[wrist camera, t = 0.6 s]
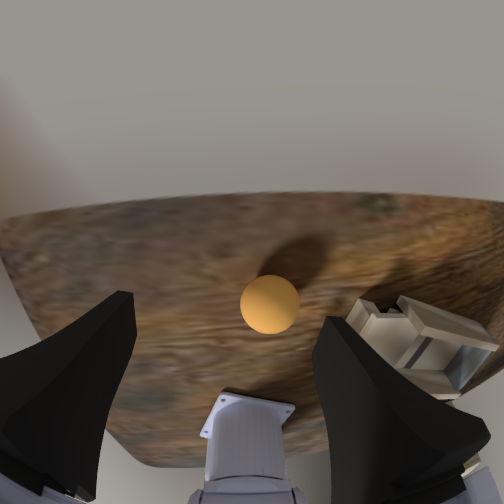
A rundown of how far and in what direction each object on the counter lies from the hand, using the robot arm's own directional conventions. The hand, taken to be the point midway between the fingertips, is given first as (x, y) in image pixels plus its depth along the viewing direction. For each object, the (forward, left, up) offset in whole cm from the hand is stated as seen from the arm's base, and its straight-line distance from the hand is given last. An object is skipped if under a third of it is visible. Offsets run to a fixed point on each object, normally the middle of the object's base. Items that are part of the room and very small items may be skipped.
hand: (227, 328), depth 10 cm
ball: (-3, -4, -8) cm, 9 cm away
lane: (-4, -19, -10) cm, 22 cm away
